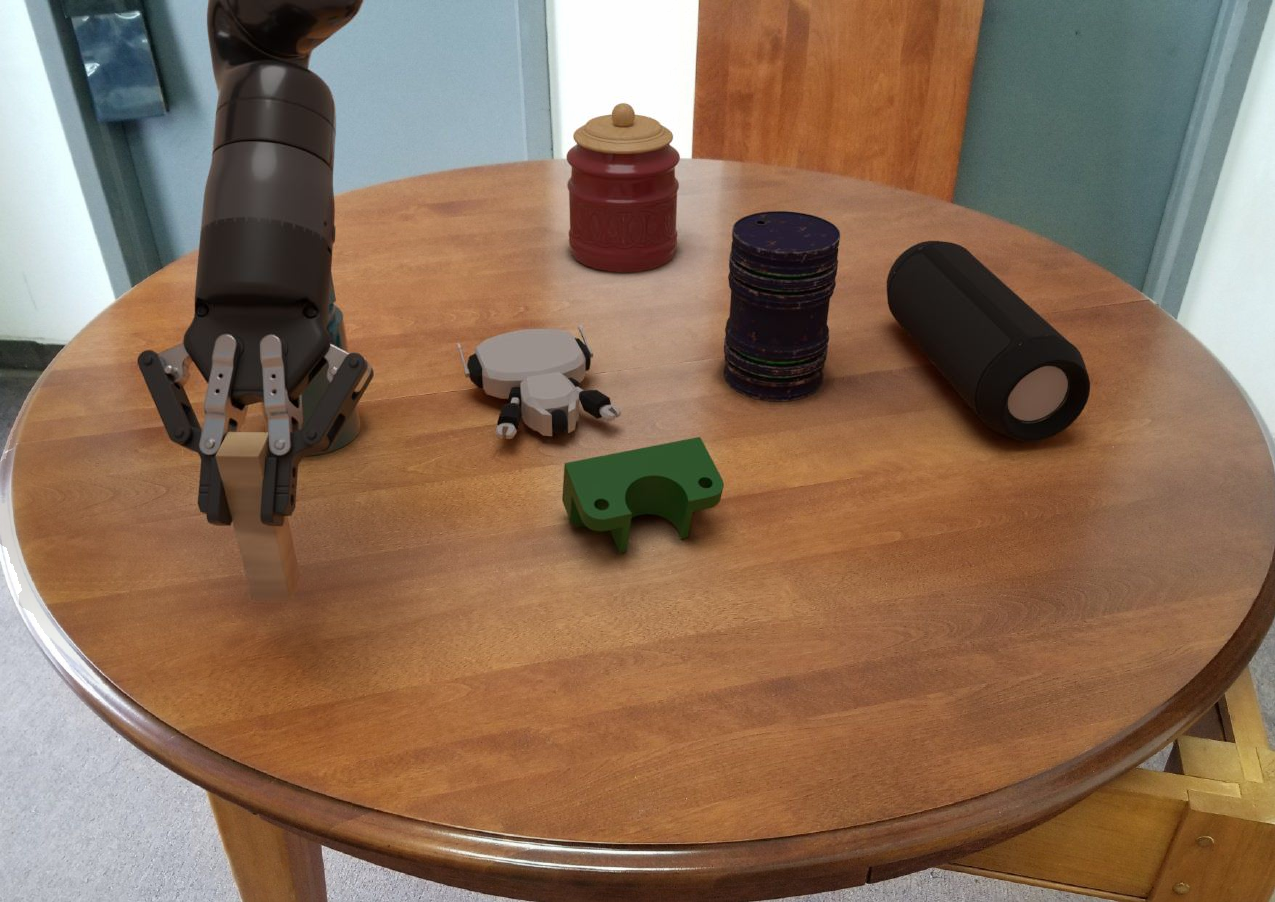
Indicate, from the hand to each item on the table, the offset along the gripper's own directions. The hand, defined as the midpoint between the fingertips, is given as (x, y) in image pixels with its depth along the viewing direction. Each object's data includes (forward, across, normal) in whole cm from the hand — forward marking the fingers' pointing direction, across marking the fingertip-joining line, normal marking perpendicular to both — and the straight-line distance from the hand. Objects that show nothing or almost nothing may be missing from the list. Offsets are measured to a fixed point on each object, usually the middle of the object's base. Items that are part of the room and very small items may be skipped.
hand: (246, 523), depth 61 cm
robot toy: (-16, +14, +36) cm, 42 cm away
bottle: (-12, -6, +33) cm, 35 cm away
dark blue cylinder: (-20, +36, +40) cm, 57 cm away
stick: (+3, 0, +6) cm, 7 cm away
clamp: (-3, +23, +23) cm, 33 cm away
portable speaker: (-19, +55, +39) cm, 70 cm away
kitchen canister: (-41, +22, +61) cm, 76 cm away
